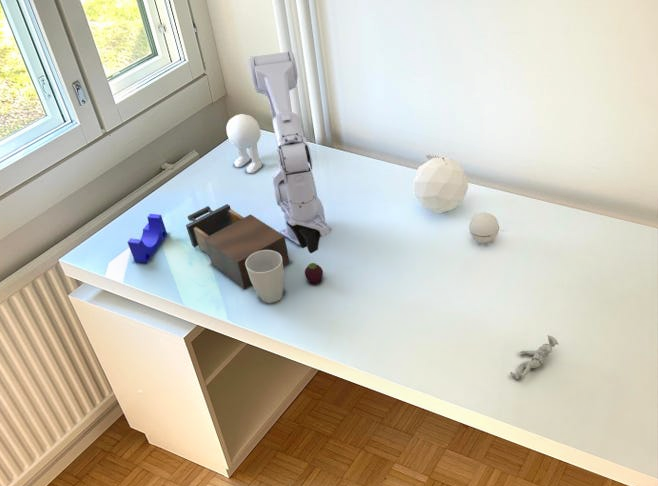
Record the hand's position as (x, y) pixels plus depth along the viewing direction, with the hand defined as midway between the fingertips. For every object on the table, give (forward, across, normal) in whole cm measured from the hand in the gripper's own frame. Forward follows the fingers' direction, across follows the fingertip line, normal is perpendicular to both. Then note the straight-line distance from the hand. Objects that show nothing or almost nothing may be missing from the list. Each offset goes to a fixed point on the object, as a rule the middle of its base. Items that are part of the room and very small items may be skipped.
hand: (309, 248), depth 166 cm
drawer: (+9, -29, -7) cm, 31 cm away
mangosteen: (+9, 0, 0) cm, 9 cm away
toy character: (+10, -54, +21) cm, 59 cm away
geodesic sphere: (+10, +1, +42) cm, 43 cm away
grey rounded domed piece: (+10, +20, +39) cm, 45 cm away
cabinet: (+9, -16, -6) cm, 20 cm away
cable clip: (+10, -41, -20) cm, 47 cm away
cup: (+10, -3, -10) cm, 14 cm away
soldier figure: (+10, +55, +13) cm, 57 cm away
